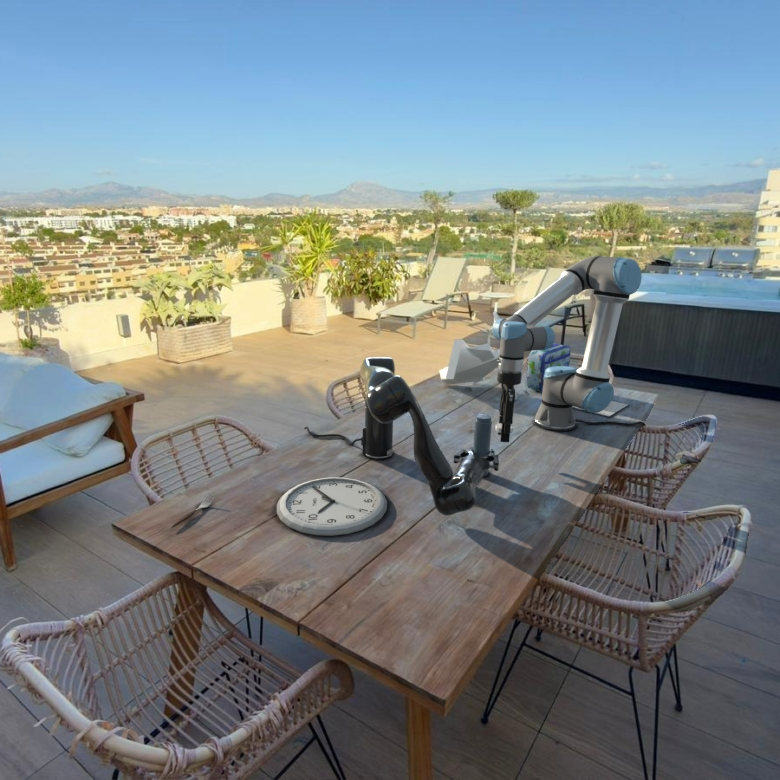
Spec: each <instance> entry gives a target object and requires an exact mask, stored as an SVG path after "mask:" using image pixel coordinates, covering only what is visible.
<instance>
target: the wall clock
mask: <svg viewBox="0 0 780 780" xmlns="http://www.w3.org/2000/svg"><path fill="white" fill-rule="evenodd" d="M387 509H388V500H387V498H386V496H385V494H384V493H383V492H382V491H381V490H380V489H379V488H377V487H376V486H374V485H372V484H371V483H369V482H365V481H362V480H359V479H355V478H349V477H338V476H337V477H335V476H333V477H332V476H331V477H322V478H317V479H312V480H307V481H305V482H302V483H299V484H297V485H295V486H293V487H292V488H290V489H288V490H287V491H286V492H285V493H284V494H283V495H281V496H280V498H279V499H278V502H277V503H276V515H277V517H278V518H279V520H280V521H281V522H282V523H283V524H285V525H286V526H287V527H288V528H290V529H293V530H295V531H297V532H299V533H303V534H308V535H312V536H327V537H328V536H329V537H331V536H332V537H333V536H342V535H350V534H352V533H356V532H361V531H363V530H366V529H368V528H369V527H372V526H373V525H375V524H376V523H378V522H379V521H380V520H381V519H382V518H383V517H384V516H385V514H386V512H387Z"/></svg>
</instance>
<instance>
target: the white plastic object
mask: <svg viewBox="0 0 780 780" xmlns="http://www.w3.org/2000/svg"><path fill="white" fill-rule="evenodd" d="M492 315H493V319H494V322H496V321H497V320H499V319H501V318H500V315H499V314H498V312H497V311H496V310H495V311H492ZM499 357H500V348H498V349H496V350H495V349H493V348H492V347H491V346H490V344H489V343H488V342H487V343H483V344H479V345H473V346H469V345H468V343H466V342H465V340H464V339H463V338H460V339H458V338H454V340H453V344H452V349H451V353H450V357H449V362H448V366H446V367H444V368H442V369H440V370H439V371H438V372H439V376H440V381H442V383H443V384H444V385H445V386H449V385H458V384H467V383H468V384H469V383H473V384H477V383H480V382H482V381H484V378H485V377H486V376H487V375H489V374H490V373H492V372H494V371H495V370H496V369H497V368H498V367H499V363H497V360H500V359H499ZM521 373H522V377H521V383H520V385H521V389H522V391H523V393H524V395H525V396H526V397H528V396H531V395H530V389H529V388H528V387H527V384H526V381H527V380H526V378H525V375H524V371H523V370H522V371H521ZM514 389H515V400H517V392H516V391H517V390H516V388H515V387H514Z"/></svg>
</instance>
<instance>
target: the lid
mask: <svg viewBox="0 0 780 780" xmlns="http://www.w3.org/2000/svg"><path fill="white" fill-rule="evenodd" d="M501 429H502V424H501V423H499V422H497V423H495V426H494V430H495V431H496V432H497V433H498V432H499V433H501ZM513 432H514V425H513V424H511V428H510V434H513Z"/></svg>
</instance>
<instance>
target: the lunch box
mask: <svg viewBox="0 0 780 780" xmlns="http://www.w3.org/2000/svg"><path fill="white" fill-rule="evenodd" d="M570 361H571V347H570V345H565V344H558V343H554V344H553V345H552V346H551V347H550V348H548V349H543V350H533V351H530V353H529V354H528V358H527V368H526V380H525V381H526V384H527V387H528V390H530V389H531V390H534V391H535V390H536V391H539V392H541V393H542V390H543V379H544V374H545V370H546V369H547V368H549V367H555V366H569V367H570Z"/></svg>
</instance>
